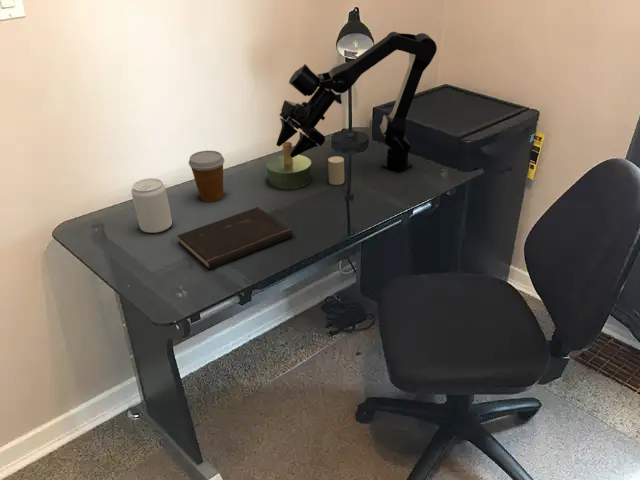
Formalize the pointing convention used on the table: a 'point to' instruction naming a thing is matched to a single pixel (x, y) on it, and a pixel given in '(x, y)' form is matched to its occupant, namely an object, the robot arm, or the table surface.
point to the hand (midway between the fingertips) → (284, 151)
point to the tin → (289, 180)
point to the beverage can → (151, 205)
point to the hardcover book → (234, 237)
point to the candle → (336, 170)
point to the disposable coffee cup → (208, 174)
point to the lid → (288, 162)
